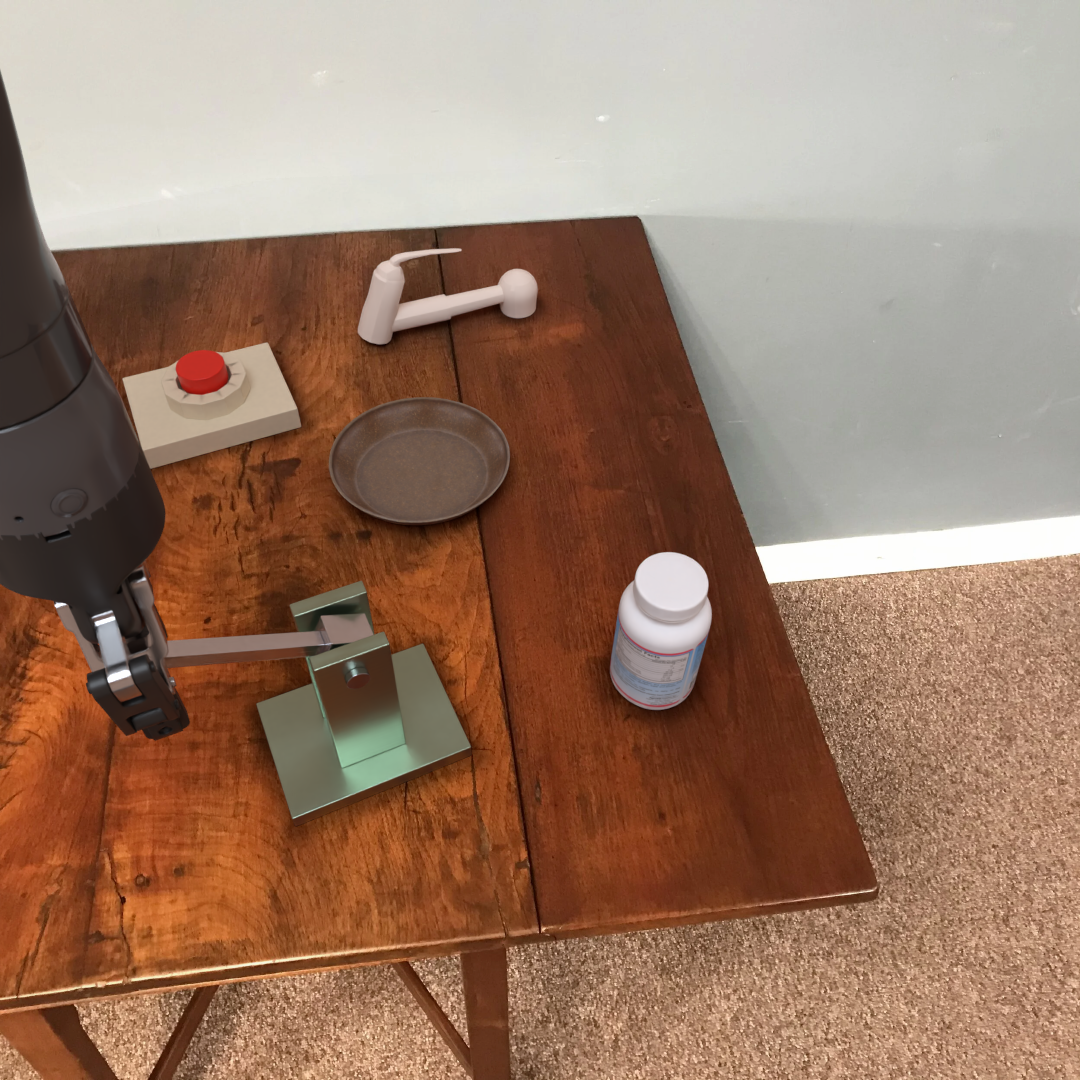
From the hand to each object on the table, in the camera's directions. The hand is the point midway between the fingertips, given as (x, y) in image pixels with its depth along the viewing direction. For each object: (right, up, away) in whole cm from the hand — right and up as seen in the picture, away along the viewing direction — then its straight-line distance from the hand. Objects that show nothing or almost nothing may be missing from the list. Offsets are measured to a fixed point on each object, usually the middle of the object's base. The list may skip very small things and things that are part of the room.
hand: (158, 683), depth 50 cm
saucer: (+11, +13, +29) cm, 33 cm away
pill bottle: (+28, -2, +17) cm, 33 cm away
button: (-8, +21, +30) cm, 38 cm away
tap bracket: (+9, -5, +13) cm, 16 cm away
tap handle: (+4, +1, +2) cm, 5 cm away
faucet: (+12, +29, +43) cm, 53 cm away
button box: (-8, +19, +33) cm, 39 cm away
